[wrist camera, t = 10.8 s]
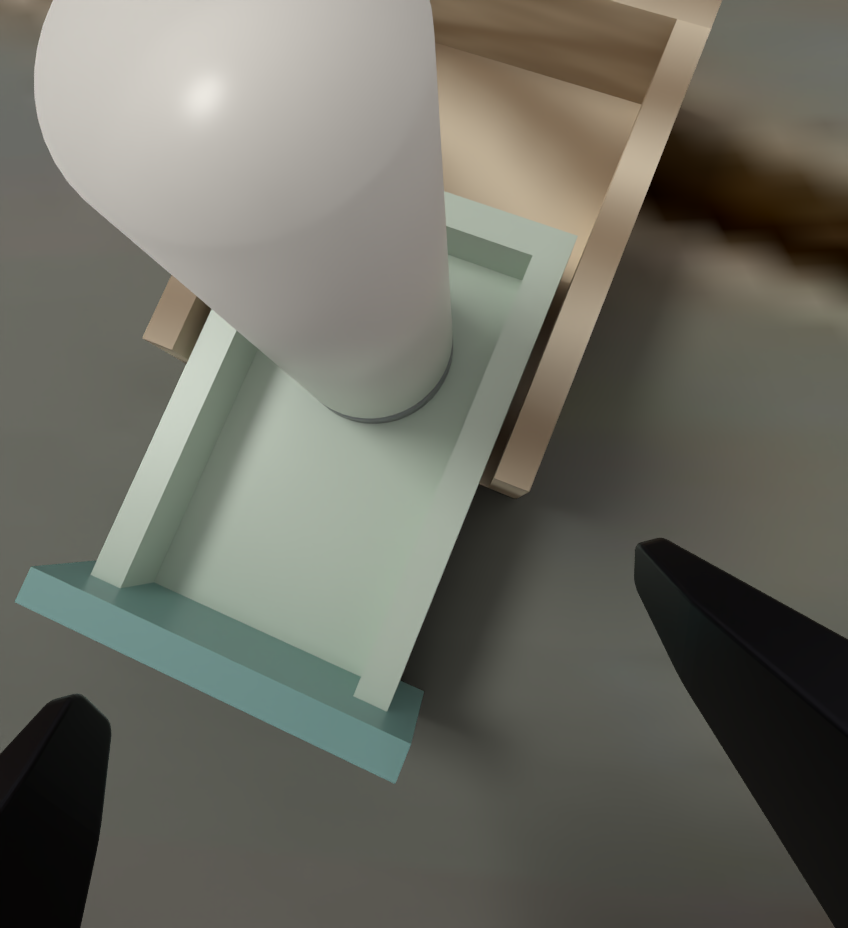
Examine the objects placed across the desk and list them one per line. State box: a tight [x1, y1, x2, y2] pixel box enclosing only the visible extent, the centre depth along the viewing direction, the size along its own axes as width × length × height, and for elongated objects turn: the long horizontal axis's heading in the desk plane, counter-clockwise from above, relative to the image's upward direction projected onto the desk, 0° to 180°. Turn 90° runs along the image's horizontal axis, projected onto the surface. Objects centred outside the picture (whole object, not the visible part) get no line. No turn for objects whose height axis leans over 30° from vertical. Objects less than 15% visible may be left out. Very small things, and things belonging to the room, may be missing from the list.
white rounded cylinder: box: [34, 0, 453, 424], centre depth 14 cm, size 6×6×13 cm
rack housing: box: [142, 0, 722, 499], centre depth 21 cm, size 18×14×5 cm
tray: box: [15, 191, 578, 784], centre depth 19 cm, size 18×13×5 cm
